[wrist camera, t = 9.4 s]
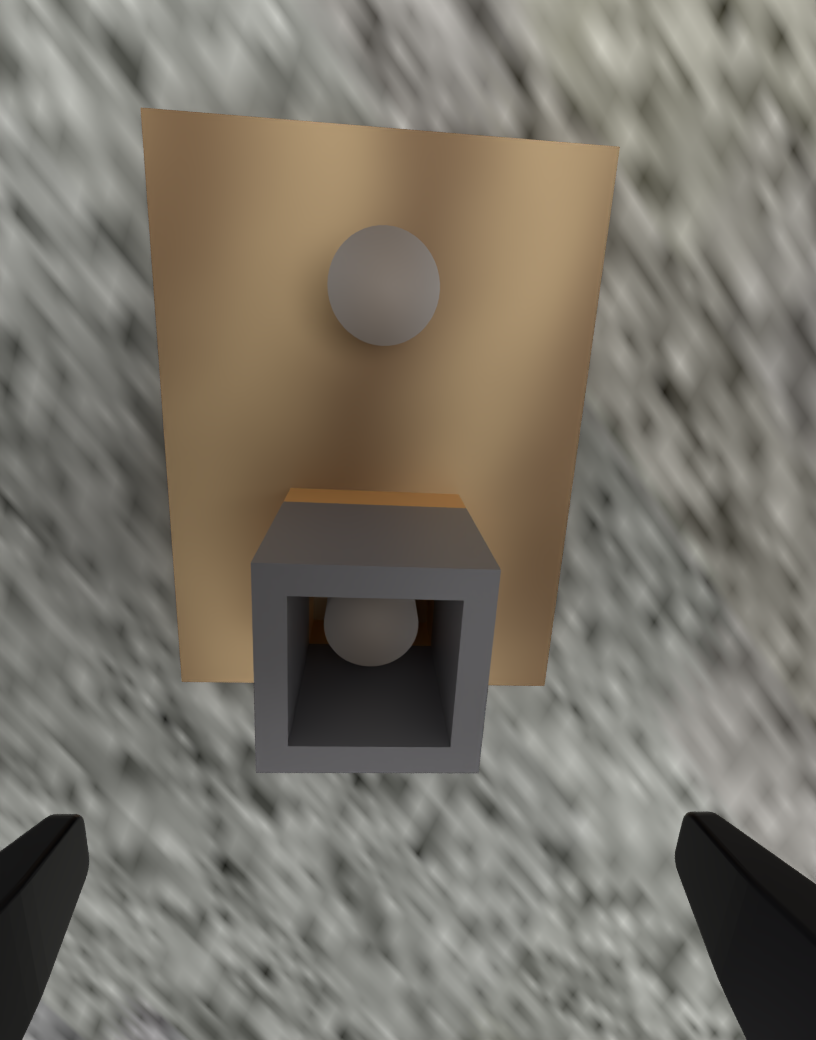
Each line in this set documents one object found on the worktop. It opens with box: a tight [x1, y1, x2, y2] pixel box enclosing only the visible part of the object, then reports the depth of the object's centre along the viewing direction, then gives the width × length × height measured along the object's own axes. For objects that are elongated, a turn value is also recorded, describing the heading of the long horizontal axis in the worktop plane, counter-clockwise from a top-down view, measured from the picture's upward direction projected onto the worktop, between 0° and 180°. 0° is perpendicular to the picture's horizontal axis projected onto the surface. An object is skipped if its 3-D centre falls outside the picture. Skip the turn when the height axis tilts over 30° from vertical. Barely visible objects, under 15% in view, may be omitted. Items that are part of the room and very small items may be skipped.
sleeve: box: [251, 488, 501, 773], centre depth 15 cm, size 5×5×6 cm
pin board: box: [141, 108, 620, 686], centre depth 16 cm, size 12×16×4 cm
